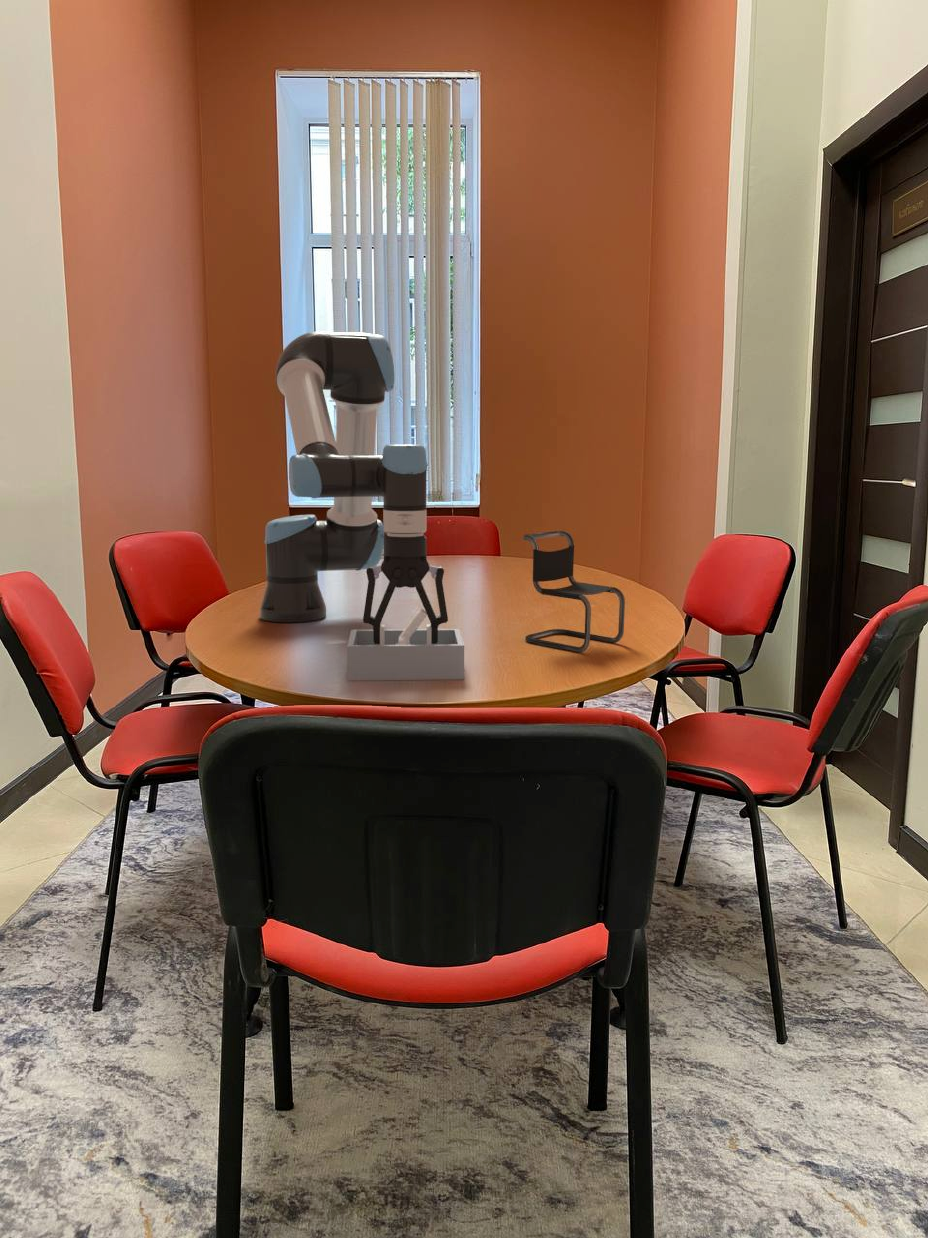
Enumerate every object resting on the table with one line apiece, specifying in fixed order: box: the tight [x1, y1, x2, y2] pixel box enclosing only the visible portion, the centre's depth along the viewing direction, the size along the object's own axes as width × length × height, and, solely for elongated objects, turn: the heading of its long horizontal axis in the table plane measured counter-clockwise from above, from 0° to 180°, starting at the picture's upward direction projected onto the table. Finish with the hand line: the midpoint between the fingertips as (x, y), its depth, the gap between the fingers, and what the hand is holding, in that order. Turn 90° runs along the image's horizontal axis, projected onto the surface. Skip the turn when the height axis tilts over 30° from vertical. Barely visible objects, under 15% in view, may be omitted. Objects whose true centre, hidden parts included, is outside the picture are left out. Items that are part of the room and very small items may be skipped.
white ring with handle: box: [396, 608, 427, 645], centre depth 161 cm, size 8×12×7 cm
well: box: [346, 628, 465, 682], centre depth 162 cm, size 14×20×6 cm
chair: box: [523, 530, 626, 653], centre depth 184 cm, size 13×17×22 cm
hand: (405, 661), depth 163 cm, fingers closed on white ring with handle, 8 cm apart
